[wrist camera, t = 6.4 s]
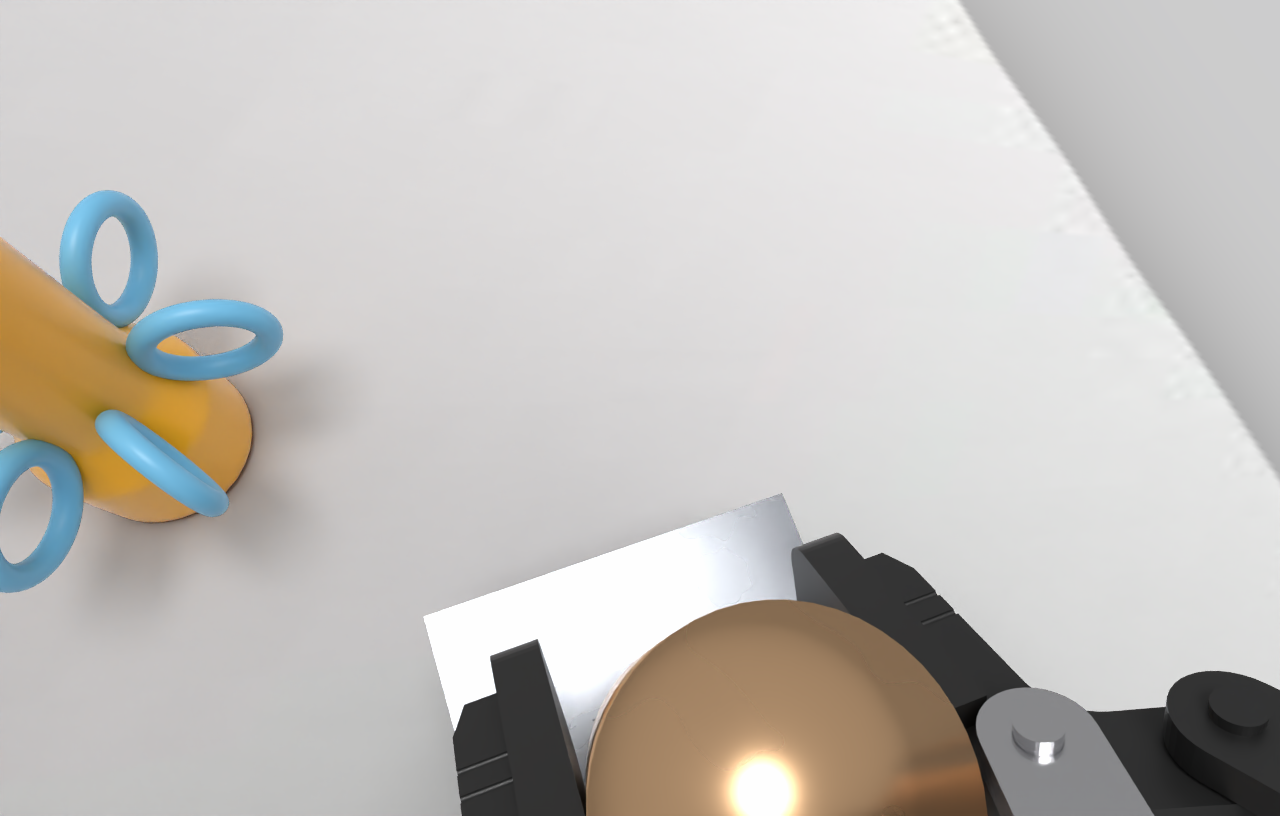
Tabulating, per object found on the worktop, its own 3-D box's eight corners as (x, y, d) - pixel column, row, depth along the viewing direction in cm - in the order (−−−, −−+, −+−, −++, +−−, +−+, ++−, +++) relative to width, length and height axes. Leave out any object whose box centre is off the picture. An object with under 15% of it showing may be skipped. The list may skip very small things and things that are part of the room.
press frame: (557, 920, 27) (542, 1054, 17) (478, 643, 29) (423, 616, 19) (881, 785, 29) (1039, 834, 19) (780, 536, 31) (872, 461, 21)
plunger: (576, 925, 21) (559, 1419, 7) (496, 653, 23) (351, 583, 9) (826, 820, 22) (1273, 1051, 8) (731, 569, 24) (947, 385, 10)
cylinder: (395, 437, 32) (243, 228, 17) (180, 667, 29) (-215, 640, 14) (165, 250, 33) (-142, -76, 19) (-60, 448, 30) (-620, 233, 16)
